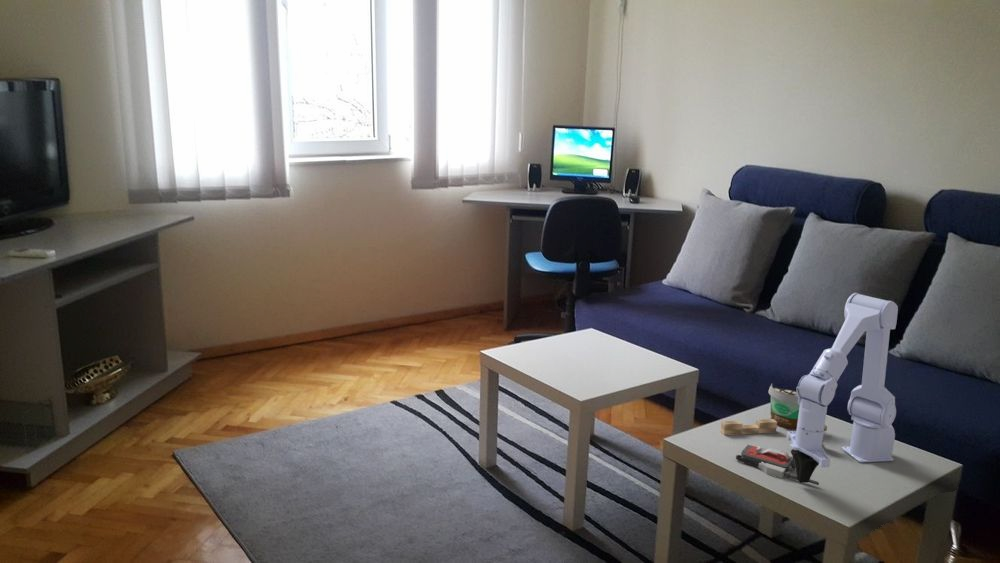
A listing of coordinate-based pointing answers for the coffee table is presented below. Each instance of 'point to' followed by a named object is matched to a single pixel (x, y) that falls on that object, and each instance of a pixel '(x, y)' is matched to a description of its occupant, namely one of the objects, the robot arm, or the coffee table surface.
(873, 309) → the robot arm
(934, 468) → the coffee table surface
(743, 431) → the notched board
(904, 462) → the coffee table surface
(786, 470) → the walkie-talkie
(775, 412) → the food container
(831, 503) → the coffee table surface
